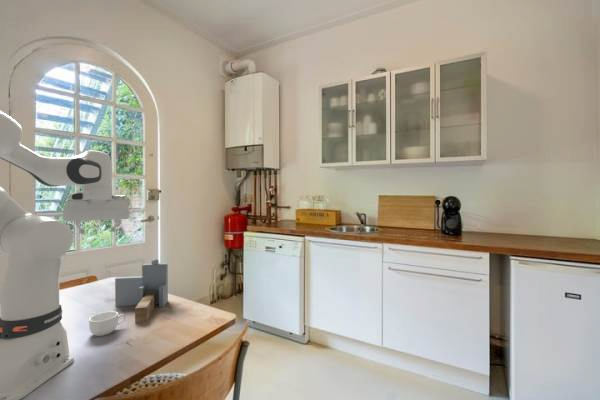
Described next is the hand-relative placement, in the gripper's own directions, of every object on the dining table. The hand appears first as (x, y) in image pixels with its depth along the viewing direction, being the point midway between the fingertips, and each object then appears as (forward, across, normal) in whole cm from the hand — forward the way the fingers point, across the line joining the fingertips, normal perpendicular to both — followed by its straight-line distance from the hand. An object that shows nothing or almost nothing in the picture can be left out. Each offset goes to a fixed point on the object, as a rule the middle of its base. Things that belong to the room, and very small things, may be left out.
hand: (97, 232), depth 105 cm
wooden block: (+30, -14, +11) cm, 35 cm away
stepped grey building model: (+30, -14, +1) cm, 33 cm away
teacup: (+30, -2, +19) cm, 36 cm away
